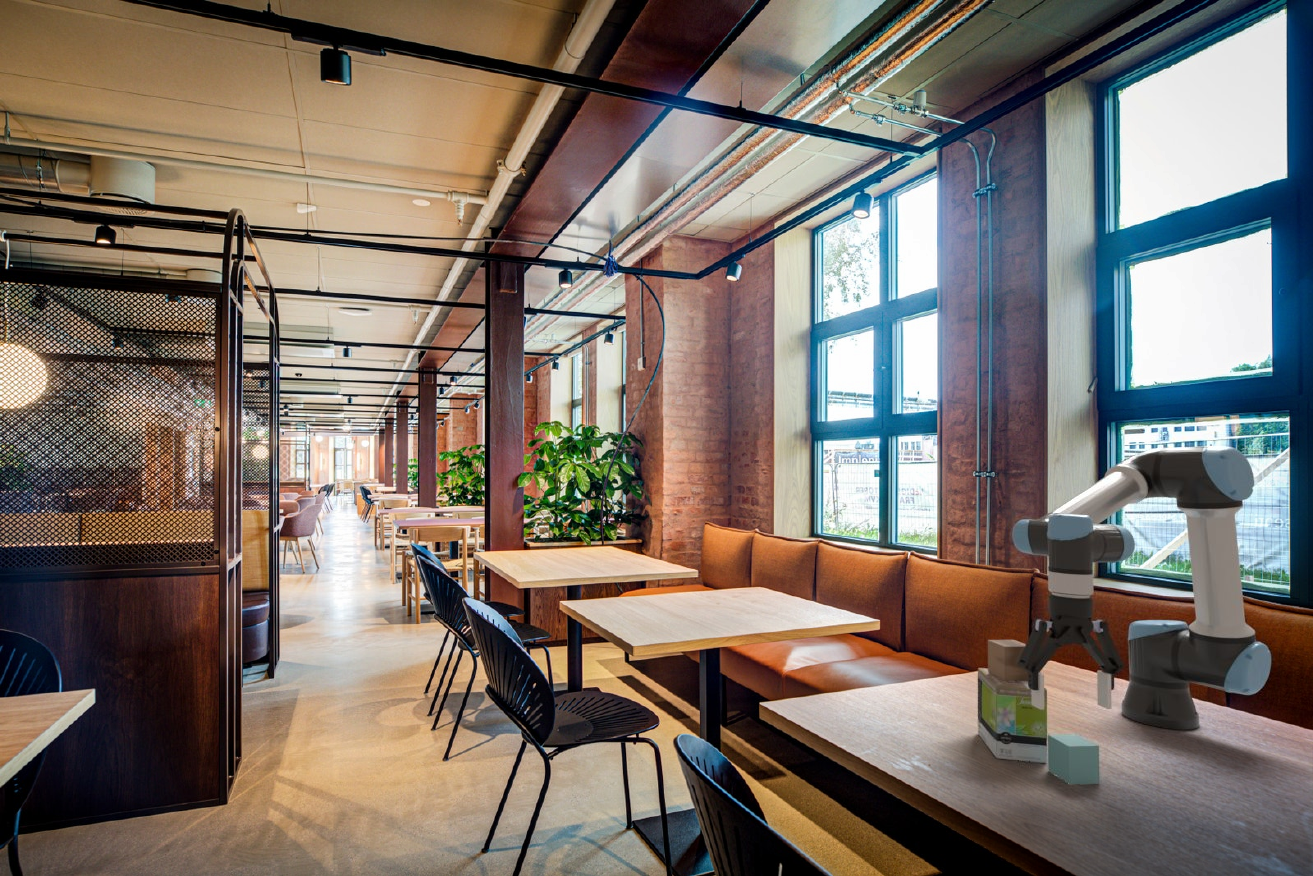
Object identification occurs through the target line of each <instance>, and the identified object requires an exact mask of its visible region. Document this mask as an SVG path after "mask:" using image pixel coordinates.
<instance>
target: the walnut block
mask: <svg viewBox="0 0 1313 876" xmlns="http://www.w3.org/2000/svg"><path fill="white" fill-rule="evenodd" d="M1025 645H1026V643H1024V642H1020V641H1018V640H1016V639H987V669H988V673H989V674H991V675H994V676H996V677H998V678H1000V679H1002V680H1004V681H1028V671H1027V670H1026V669H1023V668H1021V667H1019V666H1018V664H1017V663H1018V661H1019V659H1020V656H1021V654H1022V652H1023V650H1024V648H1025Z"/></svg>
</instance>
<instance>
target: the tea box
mask: <svg viewBox="0 0 1313 876" xmlns="http://www.w3.org/2000/svg"><path fill="white" fill-rule="evenodd" d="M977 734H978V735H979V736H980V738H981V739H982V740H983V742H984V743H985V745H986V746H987V747H988V749H989V750H990V752H992V754H993V755H994V757H995V758H996V759H1000V760H1001V759H1002V760H1009V761H1018V760H1019V761H1020V762H1029V761H1030V762H1029V763H1041V764H1043V763H1044V764H1045V763H1046V764H1047V763H1048V690H1047V688H1045V687H1044V710H1040V709H1038V708H1036V707H1034V706H1032V692H1031V689H1030V688H1029V687H1028V681H1004V680H1002V679H1000V678H998V677H996V676H994V675H991V674H989V673H988V667H987V668H985V667H978V668H977ZM1019 761H1018V762H1019Z"/></svg>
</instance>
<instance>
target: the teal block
mask: <svg viewBox="0 0 1313 876" xmlns="http://www.w3.org/2000/svg"><path fill="white" fill-rule="evenodd" d="M1047 770H1049V771H1050V772H1051V773H1050V772H1049V773H1050V774H1052V773H1053V774H1055V775H1057V776H1058V777H1059V778H1058V777H1057V778H1058V779H1060V778H1062V779H1063V780H1064V781H1066V782H1065V783H1066V784H1067V783H1069V784H1071V785H1070V786H1073V784H1080V785H1096V784H1095V783H1100V777H1101V776H1100V745H1098V743H1097V744H1096V743H1095V742H1093V741H1091V740H1089V739H1087V738H1084V737H1083V736H1081V735H1079V734H1077V733H1072V734H1047ZM1053 774H1052V775H1053ZM1055 775H1054V776H1055ZM1063 780H1062V781H1063ZM1064 781H1063V782H1064ZM1093 783H1094V784H1093ZM1069 784H1068V785H1069Z"/></svg>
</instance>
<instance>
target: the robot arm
mask: <svg viewBox="0 0 1313 876" xmlns="http://www.w3.org/2000/svg"><path fill="white" fill-rule="evenodd" d="M1254 487H1255V477H1254V473H1253V469H1252V466H1251V463H1250V462H1249V460H1248V457H1246V456H1245V455H1244V454H1243V452H1242V451H1240V450H1238V449H1237V448H1236V447H1232V446H1225V445H1224V446H1220V445H1203V446H1201V445H1199V446H1184V447H1183V446H1181V447H1180V446H1179V447H1157V448H1152V449H1148V450H1145V451H1142V452H1140V453H1137V454H1135V455H1132V456H1129V457H1127V458H1126V459H1124V460H1121V461H1120V462H1118V463H1117V464H1115V465H1113V466H1112V467H1110V468H1108V469H1107V471H1106V472H1105V474H1104V477H1103V478H1101V479H1100V480H1098V481H1096V482H1095V483H1094V484H1092V485H1090V486H1089V487H1087V488H1086V489H1084V490H1083V491H1081V492H1079V493H1078V494H1076V495H1075V496H1073V497H1071V498H1070V499H1068V500H1067V501H1065V502H1064V503H1062V504H1060V505H1059V506H1058V507H1056V508H1054V509H1053V510H1051V511H1050V512H1047V514H1045V515H1043V516H1041V517H1040V518H1038V519H1033V518H1029V519H1020V520H1018V521H1017V522H1016V523H1015V524H1014V526H1013V529H1012V531H1011V532H1012V535H1011V537H1012V542H1013V544H1014V548H1016V550H1017V551H1019V552H1021V553H1024V554H1028V555H1029V554H1030V555H1033V556H1043V557H1044V556H1045V557H1048V565H1047V566H1048V567H1047V571H1048V573H1047V581H1048V584H1047V589H1048V591H1049V592H1051V593H1049V595H1047V607H1048V608H1047V610H1048V613H1049V620H1043V619H1039V618H1034V619H1033V623H1032V631H1031V632H1030V634H1029V636H1028V639H1027V642H1026V643H1025V644H1026V645H1025V648H1024V650H1023V652H1022V654H1021V656H1020V659H1019V661H1018V663H1017V664H1018V666H1019V667H1021V668H1023V669H1026V670H1027V671H1028V687H1029V688H1030V689H1031V692H1032V706H1034V707H1036V708H1038V709H1040V710H1044V688H1045V674H1044V673H1041V672H1042V670H1043V669H1044V668H1045V666H1046V665H1047V664H1048V662H1049V661H1050V660H1051V659H1052V657H1053V656H1054V654H1055V653H1056V652H1057V651H1058V650H1059V648H1062V647H1063V646H1064V645H1067V646H1071V645H1078V646H1083V647H1084V649H1085V650H1086V652H1088V653H1089V655H1090V656H1091V658H1092V659H1093V660H1094V661H1095V663H1096V664H1097V665H1098V666H1099V667H1100V669H1101V670H1097V671H1096V672H1097V673H1096V674H1097V675H1096V677H1097V678H1096V679H1097V682H1096V683H1097V685H1096V686H1097V688H1096V689H1097V691H1096V692H1097V705H1098V706H1100V707H1102V708H1105V709H1106V710H1112V709H1113V708H1112V691H1114V689H1115V676H1116V675H1117V676H1118V674H1120V671H1123V670H1125V666H1126V665H1125V663H1124V661H1123V659H1122V658H1121V656H1120V654H1119V651H1118V648H1117V647H1116V645H1115V643H1114V640H1113V639H1112V636H1111V634H1110V629H1109V623H1108V622H1107V621H1106V620H1102V619H1098V618H1095V619H1093V620H1092V618H1093V616H1094V599H1093V598H1092V596H1093V595H1094V570H1093V569H1094V568H1093V567H1094V564H1093V563H1111V564H1113V563H1114V564H1115V563H1118V562H1123V561H1126V560H1128V559H1129V558H1130V557H1132V555H1133V554H1134V552H1135V549H1136V547H1135V546H1136V543H1135V538H1134V536H1133V534H1132V533H1131V531H1130V530H1129V529H1127V528H1126V527H1124V526H1123V525H1119V524H1114V523H1103V524H1101V523H1102V522H1103V521H1105V520H1106V519H1108V518H1110V517H1111V516H1112V515H1114V514H1116V513H1117V512H1118V511H1120V510H1122V509H1123V508H1125V507H1126V506H1127V505H1129V504H1130V505H1132V504H1138V503H1140V502H1142V501H1143V500H1145V499H1151V498H1168V499H1169V498H1170V499H1171V498H1172V499H1175V500H1176V508H1177V509H1178V510H1180V511H1181V512H1182V513H1184V514H1185V516H1186V517H1185V518H1186V528H1187V539H1188V540H1187V541H1188V547H1189V548H1188V549H1189V560H1190V569H1191V579H1192V590H1193V601H1194V611H1195V613H1194V614H1195V620H1194V621H1193V622H1191V623H1190V624H1189V625H1188V624H1187V622H1186V621H1181V620H1172V619H1171V620H1169V619H1166V620H1165V619H1147V620H1137V621H1133V622H1131V623H1130V624H1129V626H1128V627H1129V628H1128V636H1127V637H1128V638H1127V641H1128V665H1129V666H1128V669H1129V680H1128V681H1129V683H1128V685H1127V689H1126V691H1125V694H1124V698H1123V700H1122V702H1121V714H1122V715H1123V716H1124V717H1126V718H1127V719H1130V720H1132V721H1135V722H1138V723H1141V724H1145V725H1149V726H1153V727H1159V728H1163V729H1169V730H1171V729H1172V730H1194V729H1198V728H1199V727H1200V715H1199V713H1198V711H1197V709H1196V705H1195V702H1194V700H1193V697H1192V694H1191V692H1190V683H1192V684H1197V685H1202V686H1203V687H1204V686H1205V687H1209V688H1211V689H1212V688H1213V689H1216V690H1221V691H1225V692H1226V693H1231V694H1233V693H1234V694H1240V695H1245V696H1251V695H1254V694H1256V693H1258V692H1259V691H1260V690H1261V689H1262V688H1263V687H1264V686H1265V684H1266V682H1267V680H1268V679H1269V675H1270V672H1271V666H1272V654H1271V651H1270V650H1269V647H1268V646H1267V645H1266V644H1264V643H1262V642H1261V641H1257V639H1256V637H1257V636H1256V630H1255V629H1254V628H1252V627H1251V626H1250V625H1249V624H1247V623H1246V619H1245V608H1244V596H1243V586H1242V575H1241V565H1240V556H1239V555H1240V554H1239V546H1238V545H1239V544H1238V536H1237V535H1238V534H1237V533H1238V532H1237V524H1236V523H1237V522H1236V514H1237V512H1239V511H1240V510H1241V509H1242V508H1243V506H1244V504H1243V503H1244V502H1243V501H1244V500H1245V501H1246V500H1247V499H1249V498H1250V497H1252V494H1253V492H1254ZM1049 631H1050V632H1049ZM1092 631H1093V632H1094V634H1095V637H1096V638H1097V641H1098V642H1099V645H1100V647H1101V648H1100V647H1099V646H1098V644H1097V641H1096V640H1095V638H1094V637H1093V636H1092V635H1091V633H1092ZM1048 632H1049V633H1048ZM1047 633H1048V635H1047ZM1044 640H1045V641H1044Z"/></svg>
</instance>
